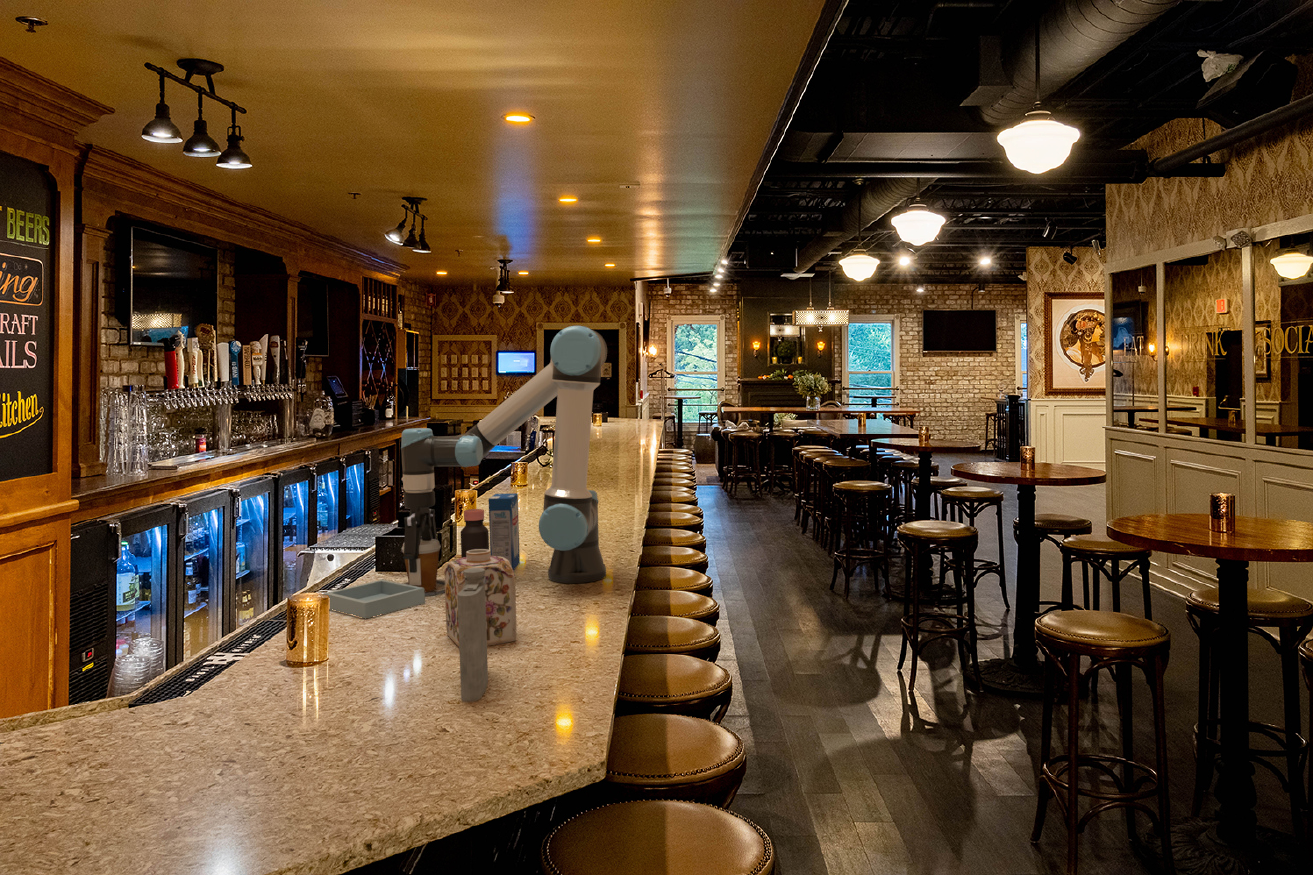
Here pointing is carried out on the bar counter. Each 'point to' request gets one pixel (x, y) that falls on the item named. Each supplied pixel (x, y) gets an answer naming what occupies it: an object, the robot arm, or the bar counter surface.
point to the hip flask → (473, 635)
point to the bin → (375, 598)
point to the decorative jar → (496, 595)
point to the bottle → (474, 532)
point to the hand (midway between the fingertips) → (422, 580)
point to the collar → (434, 591)
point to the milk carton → (504, 527)
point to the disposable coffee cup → (427, 564)
